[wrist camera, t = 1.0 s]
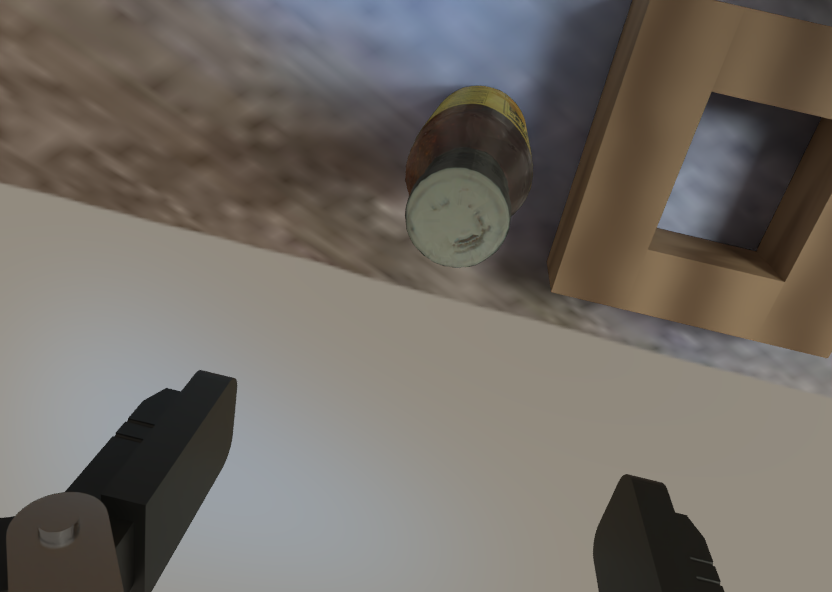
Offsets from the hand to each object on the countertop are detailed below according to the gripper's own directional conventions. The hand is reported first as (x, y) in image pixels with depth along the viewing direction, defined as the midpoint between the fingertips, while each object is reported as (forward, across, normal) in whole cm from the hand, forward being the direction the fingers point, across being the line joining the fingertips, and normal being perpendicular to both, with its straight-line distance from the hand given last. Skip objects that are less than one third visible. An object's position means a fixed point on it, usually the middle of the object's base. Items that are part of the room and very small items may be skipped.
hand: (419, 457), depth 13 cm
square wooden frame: (+32, -16, -1) cm, 36 cm away
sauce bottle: (+33, 0, 0) cm, 33 cm away
